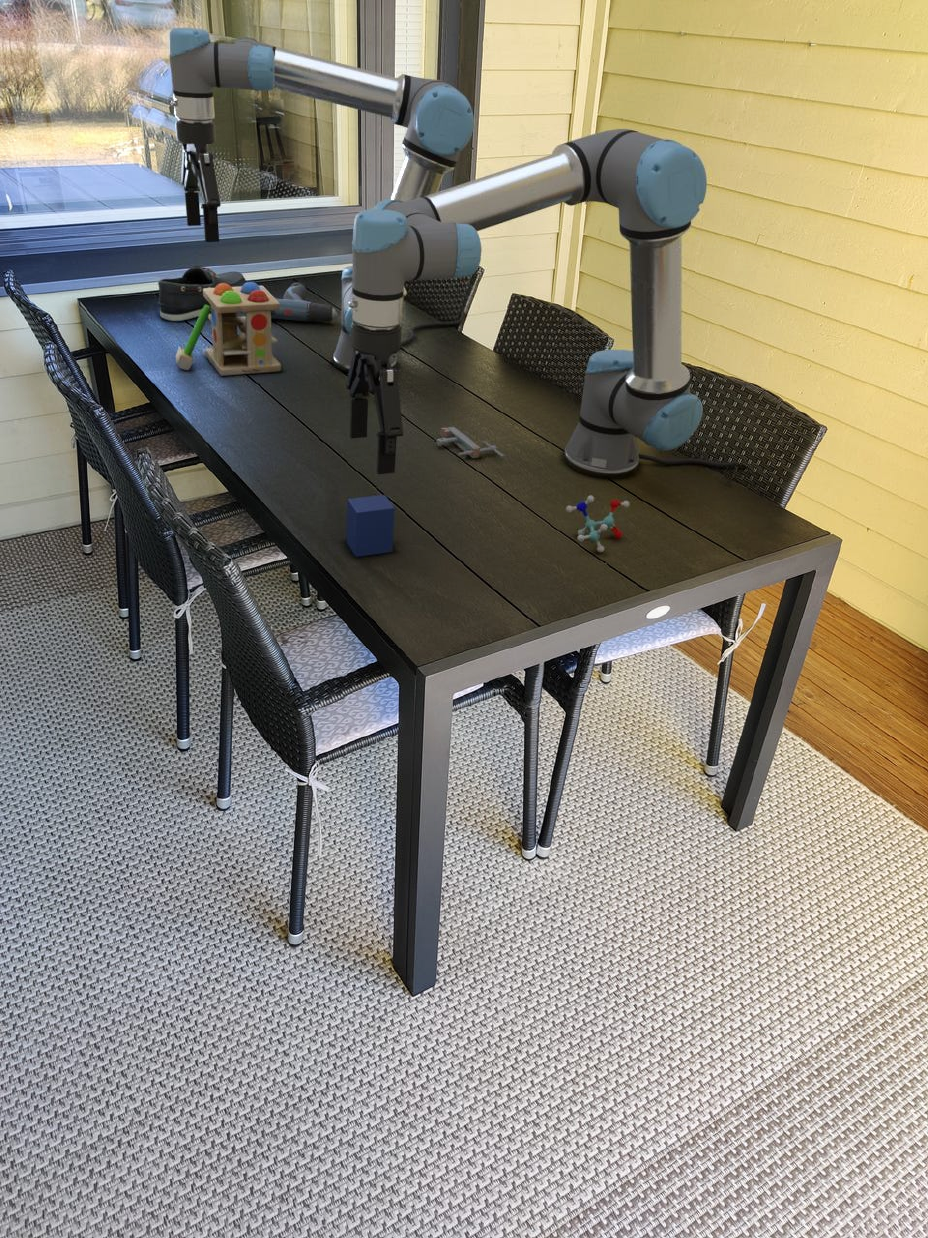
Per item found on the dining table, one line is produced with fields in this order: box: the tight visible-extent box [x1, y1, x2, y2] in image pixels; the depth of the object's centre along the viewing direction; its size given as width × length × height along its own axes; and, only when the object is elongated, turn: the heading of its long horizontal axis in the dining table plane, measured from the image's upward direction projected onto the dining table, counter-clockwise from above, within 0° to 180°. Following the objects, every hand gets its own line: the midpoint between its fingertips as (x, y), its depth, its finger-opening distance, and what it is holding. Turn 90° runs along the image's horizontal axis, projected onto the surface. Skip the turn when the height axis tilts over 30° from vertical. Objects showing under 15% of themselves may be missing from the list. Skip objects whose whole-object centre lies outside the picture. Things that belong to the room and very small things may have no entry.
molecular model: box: [565, 495, 630, 554], centre depth 173 cm, size 12×10×10 cm
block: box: [346, 494, 395, 558], centre depth 164 cm, size 5×6×8 cm
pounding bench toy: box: [174, 281, 282, 377], centre depth 225 cm, size 23×14×18 cm, turn 116°
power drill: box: [271, 282, 338, 322], centre depth 265 cm, size 5×19×20 cm
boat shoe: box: [157, 265, 247, 322], centre depth 263 cm, size 13×33×10 cm, turn 147°
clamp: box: [436, 426, 507, 460], centre depth 201 cm, size 15×2×10 cm
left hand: (203, 233), depth 204 cm, fingers open, 13 cm apart
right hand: (371, 454), depth 157 cm, fingers open, 13 cm apart
